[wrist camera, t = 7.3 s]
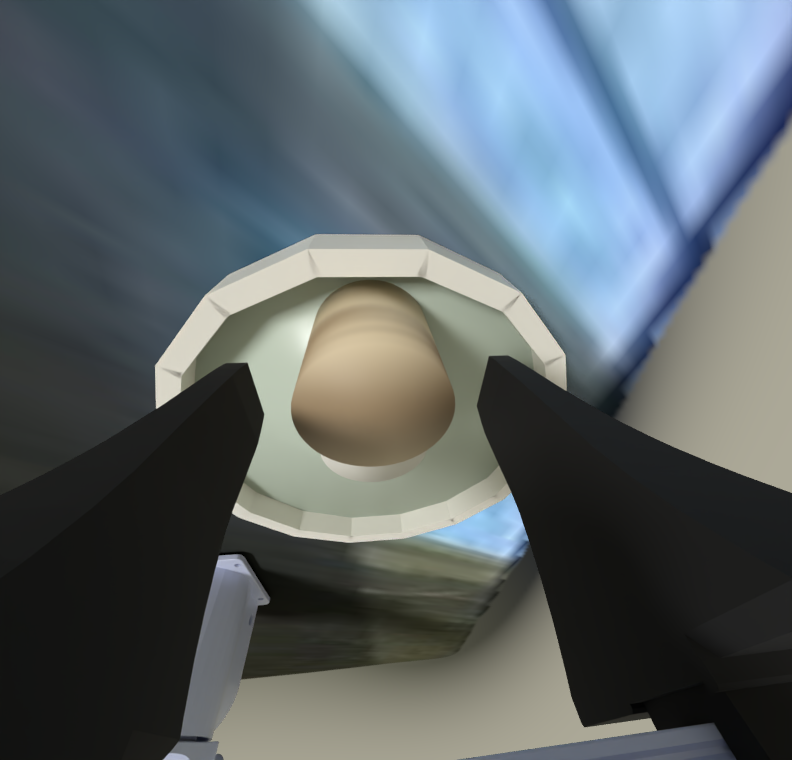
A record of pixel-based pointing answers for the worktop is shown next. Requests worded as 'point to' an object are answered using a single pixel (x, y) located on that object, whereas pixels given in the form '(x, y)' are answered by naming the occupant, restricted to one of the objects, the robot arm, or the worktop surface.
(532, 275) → the worktop surface
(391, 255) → the groove tray
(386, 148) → the worktop surface
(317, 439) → the maple bead
